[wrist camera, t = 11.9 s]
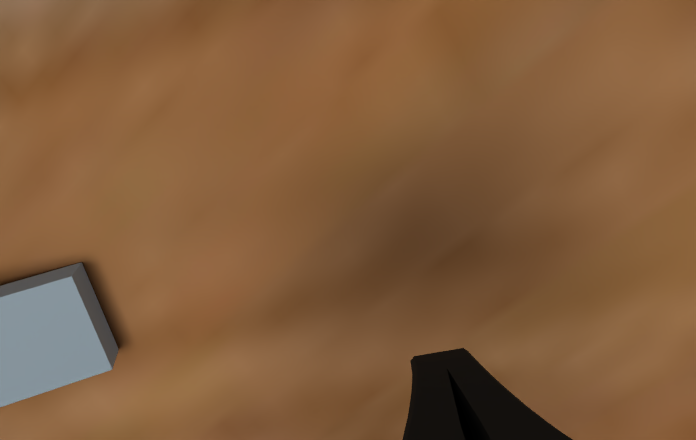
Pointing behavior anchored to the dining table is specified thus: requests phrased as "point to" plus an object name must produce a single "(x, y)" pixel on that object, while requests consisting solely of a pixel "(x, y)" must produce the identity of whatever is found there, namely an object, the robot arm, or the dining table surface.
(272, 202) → the dining table surface
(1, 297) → the slate tile
